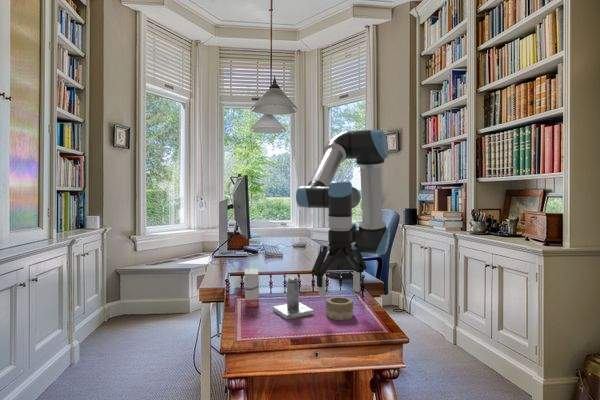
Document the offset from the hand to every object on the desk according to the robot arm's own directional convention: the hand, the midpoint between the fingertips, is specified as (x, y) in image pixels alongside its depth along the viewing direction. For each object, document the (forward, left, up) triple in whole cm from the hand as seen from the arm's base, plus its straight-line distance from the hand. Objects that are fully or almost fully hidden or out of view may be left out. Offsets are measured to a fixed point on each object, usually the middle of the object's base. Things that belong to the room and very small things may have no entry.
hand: (339, 294), depth 140 cm
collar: (0, 0, -7) cm, 7 cm away
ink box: (+20, -26, -8) cm, 34 cm away
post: (+12, -10, -7) cm, 17 cm away
